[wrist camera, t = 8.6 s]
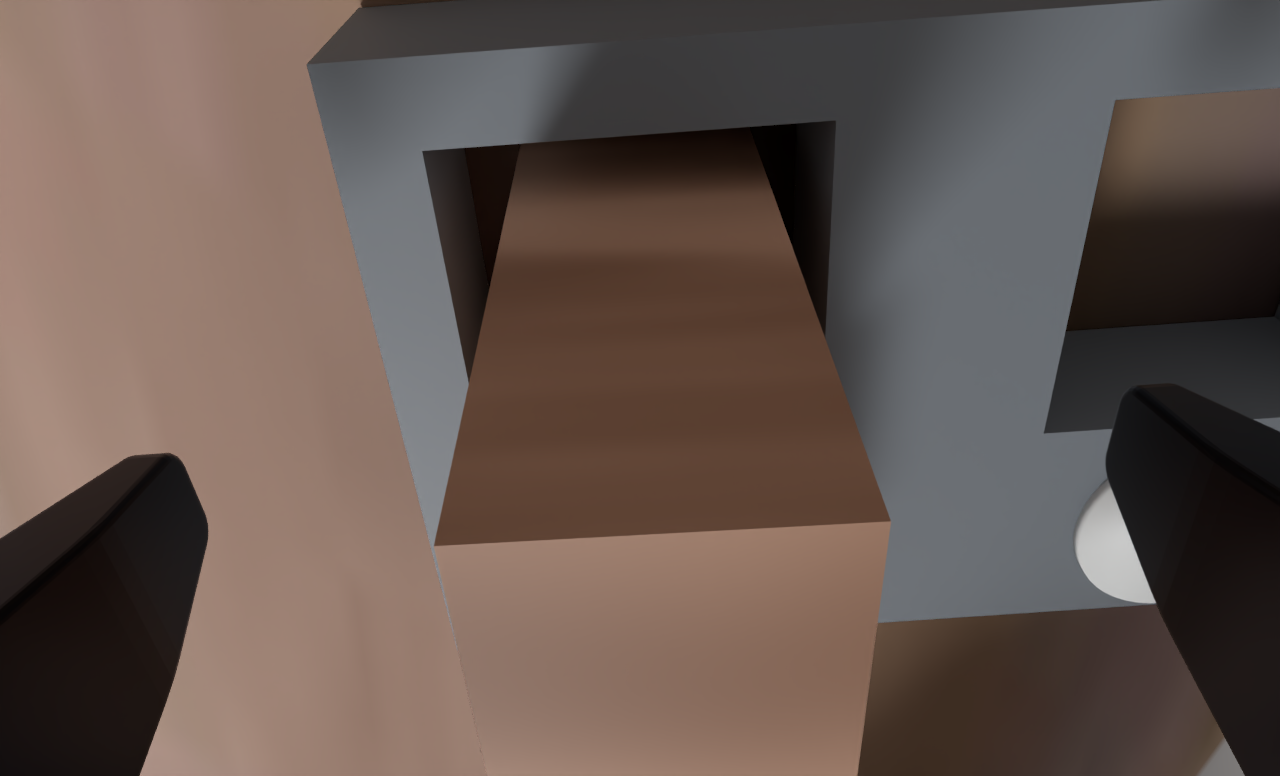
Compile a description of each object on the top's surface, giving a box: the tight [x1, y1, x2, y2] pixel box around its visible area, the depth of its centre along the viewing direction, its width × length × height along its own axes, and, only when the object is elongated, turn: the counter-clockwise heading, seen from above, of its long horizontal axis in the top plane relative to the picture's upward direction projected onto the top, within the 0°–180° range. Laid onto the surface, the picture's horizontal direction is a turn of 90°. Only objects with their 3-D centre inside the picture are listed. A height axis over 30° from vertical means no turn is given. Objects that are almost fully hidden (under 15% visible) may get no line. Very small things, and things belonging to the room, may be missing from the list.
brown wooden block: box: [434, 127, 891, 776], centre depth 10 cm, size 3×3×8 cm
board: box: [307, 0, 1280, 651], centre depth 12 cm, size 9×14×6 cm, turn 94°
